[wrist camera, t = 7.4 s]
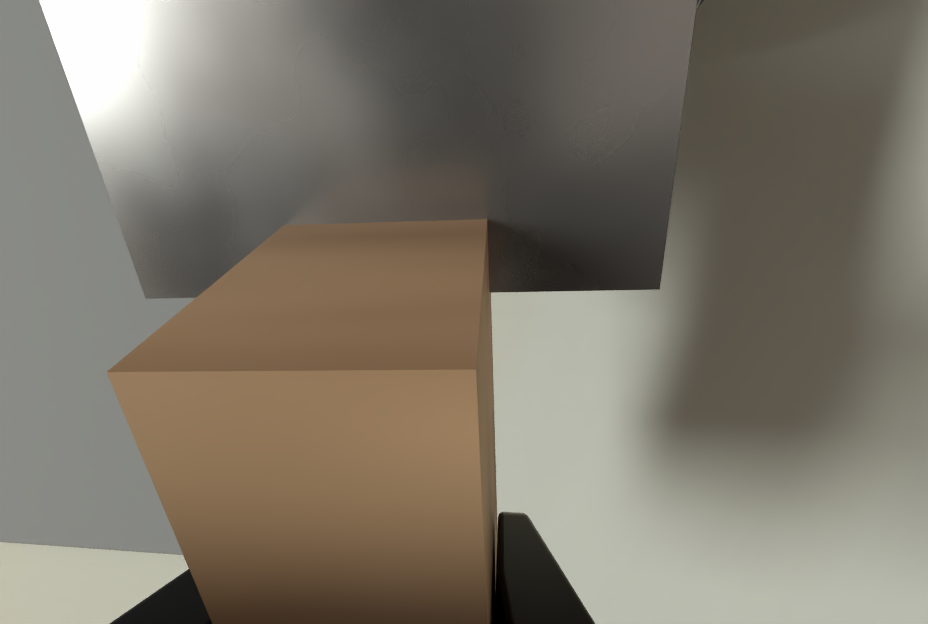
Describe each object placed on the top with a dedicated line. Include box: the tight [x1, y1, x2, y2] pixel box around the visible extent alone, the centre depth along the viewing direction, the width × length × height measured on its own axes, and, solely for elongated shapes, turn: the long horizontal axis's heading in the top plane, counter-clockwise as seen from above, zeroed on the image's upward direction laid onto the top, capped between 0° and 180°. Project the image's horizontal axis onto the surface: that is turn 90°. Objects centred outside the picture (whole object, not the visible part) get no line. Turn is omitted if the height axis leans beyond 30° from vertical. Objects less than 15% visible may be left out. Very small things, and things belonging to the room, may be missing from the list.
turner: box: [40, 0, 697, 624], centre depth 6 cm, size 14×7×4 cm, turn 2°
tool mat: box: [0, 0, 195, 555], centre depth 17 cm, size 22×13×1 cm, turn 179°
